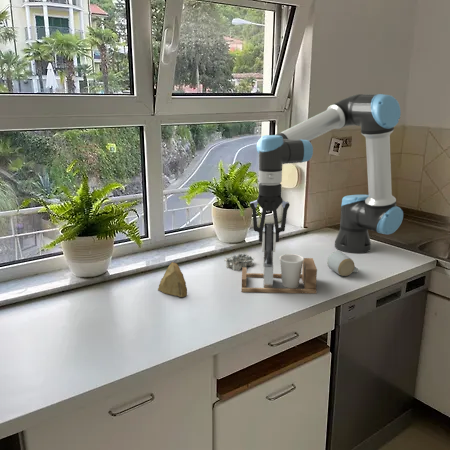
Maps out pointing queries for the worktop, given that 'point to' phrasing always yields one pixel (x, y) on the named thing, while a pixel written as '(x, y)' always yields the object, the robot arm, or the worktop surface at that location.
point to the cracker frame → (307, 277)
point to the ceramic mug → (341, 263)
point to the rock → (173, 281)
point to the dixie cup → (291, 269)
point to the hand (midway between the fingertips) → (268, 250)
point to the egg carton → (238, 261)
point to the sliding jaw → (268, 256)
